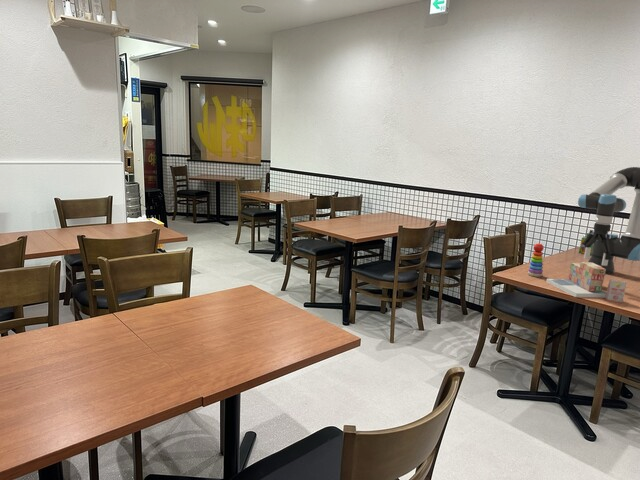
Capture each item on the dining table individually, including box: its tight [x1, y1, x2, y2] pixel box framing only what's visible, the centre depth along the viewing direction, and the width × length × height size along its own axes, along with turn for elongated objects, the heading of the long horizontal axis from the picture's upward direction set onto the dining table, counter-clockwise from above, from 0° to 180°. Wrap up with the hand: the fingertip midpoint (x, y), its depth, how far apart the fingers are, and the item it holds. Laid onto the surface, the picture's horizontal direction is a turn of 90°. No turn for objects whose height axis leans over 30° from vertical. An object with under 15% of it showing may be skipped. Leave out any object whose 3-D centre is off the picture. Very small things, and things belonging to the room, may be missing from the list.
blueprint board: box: [545, 278, 607, 299], centre depth 232 cm, size 18×24×2 cm
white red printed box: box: [605, 279, 627, 304], centre depth 217 cm, size 4×7×10 cm, turn 62°
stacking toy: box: [527, 243, 544, 278], centre depth 254 cm, size 8×8×19 cm
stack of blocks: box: [568, 261, 606, 292], centre depth 232 cm, size 21×6×12 cm, turn 177°
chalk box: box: [578, 232, 593, 256], centre depth 322 cm, size 9×9×15 cm
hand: (595, 262), depth 240 cm, fingers open, 13 cm apart
